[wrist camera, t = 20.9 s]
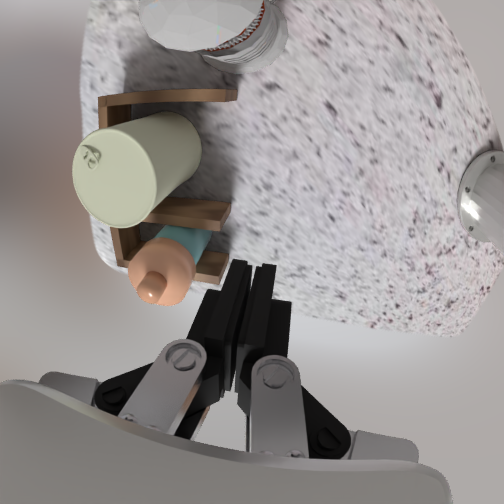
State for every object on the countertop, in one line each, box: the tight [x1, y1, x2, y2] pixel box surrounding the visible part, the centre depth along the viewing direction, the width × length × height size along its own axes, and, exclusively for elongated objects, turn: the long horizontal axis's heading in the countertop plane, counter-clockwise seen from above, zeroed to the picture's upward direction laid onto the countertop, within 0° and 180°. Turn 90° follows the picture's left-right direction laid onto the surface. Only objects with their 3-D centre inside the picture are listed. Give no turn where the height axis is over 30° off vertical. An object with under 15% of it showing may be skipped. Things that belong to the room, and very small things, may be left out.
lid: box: [128, 237, 196, 306], centre depth 27 cm, size 6×6×5 cm
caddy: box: [98, 89, 237, 285], centre depth 31 cm, size 14×22×5 cm, turn 176°
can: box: [72, 112, 202, 228], centre depth 26 cm, size 9×9×12 cm
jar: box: [154, 225, 212, 265], centre depth 33 cm, size 6×6×8 cm
